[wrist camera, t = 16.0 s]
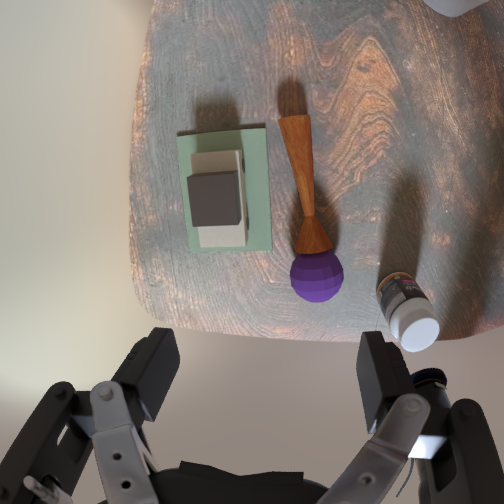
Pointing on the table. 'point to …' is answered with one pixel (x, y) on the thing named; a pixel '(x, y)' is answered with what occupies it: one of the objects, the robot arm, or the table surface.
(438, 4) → the white cylinder
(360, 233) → the table surface
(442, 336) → the table surface
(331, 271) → the kendama
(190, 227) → the mat
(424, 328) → the pill bottle
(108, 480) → the robot arm
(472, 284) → the table surface
